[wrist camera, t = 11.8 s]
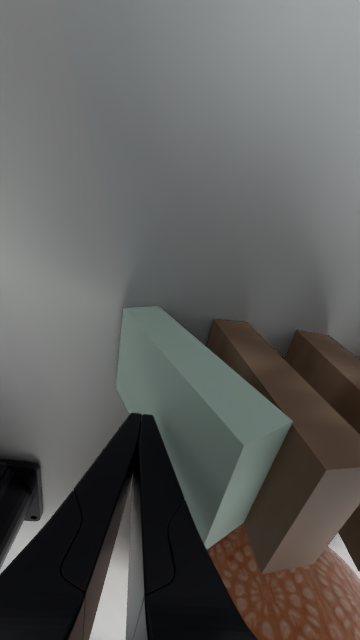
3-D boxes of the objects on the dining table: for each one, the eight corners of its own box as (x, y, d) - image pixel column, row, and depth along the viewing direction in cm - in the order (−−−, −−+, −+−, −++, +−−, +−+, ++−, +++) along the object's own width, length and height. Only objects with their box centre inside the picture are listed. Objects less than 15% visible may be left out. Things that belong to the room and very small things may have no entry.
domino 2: (246, 322, 14) (389, 464, 6) (224, 391, 16) (313, 563, 8) (213, 319, 13) (326, 469, 6) (195, 391, 15) (260, 574, 8)
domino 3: (328, 335, 14) (514, 482, 7) (297, 401, 16) (410, 574, 8) (296, 330, 14) (448, 474, 6) (268, 397, 16) (358, 570, 8)
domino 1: (158, 306, 13) (293, 421, 7) (147, 380, 15) (243, 522, 9) (123, 307, 12) (244, 445, 6) (115, 387, 14) (199, 555, 8)
